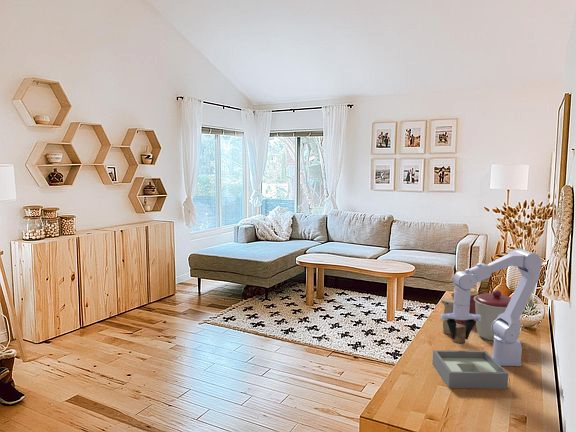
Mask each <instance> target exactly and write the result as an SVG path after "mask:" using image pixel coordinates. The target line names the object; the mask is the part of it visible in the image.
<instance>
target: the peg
mask: <svg viewBox="0 0 576 432" xmlns="http://www.w3.org/2000/svg"><path fill="white" fill-rule="evenodd" d="M465 338H466V327H465V325H463V324H456V329H455V339H452V342H453V343H454V344H456V345H465V344H466V339H465Z"/></svg>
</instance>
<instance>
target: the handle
mask: <svg viewBox="0 0 576 432" xmlns="http://www.w3.org/2000/svg"><path fill="white" fill-rule="evenodd" d="M440 302H441V304H442V305H444V308H443V314H446V313H452V308H453V305H454V300H452V298H444V297H443V298H441V299H440ZM442 333H443V334H445V335H451V334H450V329H449V326H448V323H447V321H446V320H442Z"/></svg>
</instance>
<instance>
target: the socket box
mask: <svg viewBox="0 0 576 432" xmlns="http://www.w3.org/2000/svg"><path fill="white" fill-rule="evenodd" d="M492 356H493V355H492ZM492 356H491V355H490V353H488V351H487V350H442V349H441V350H440V349H438V350H435V349H433V350H432V362H431V364H432V366H433V368H434V369H435V370H436V372H437V373H438V375H439V377H441V379H442V381H443V382H444V384H445V385H446V387H447V388H448V389H489V390H490V389H495V390H496V389H501V390H503V389H504V390H507V389H508V382H509V372H508V371H506V370H505V369H504V367H503V366H500V365H499V363H498V362H497V361H496V360H495V359H494V358H493V357H492Z"/></svg>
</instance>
